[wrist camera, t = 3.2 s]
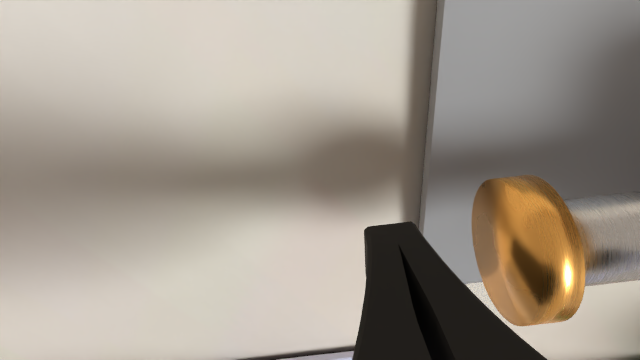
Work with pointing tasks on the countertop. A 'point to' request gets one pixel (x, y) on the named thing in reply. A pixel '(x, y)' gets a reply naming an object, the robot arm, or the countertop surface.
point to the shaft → (550, 246)
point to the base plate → (527, 107)
